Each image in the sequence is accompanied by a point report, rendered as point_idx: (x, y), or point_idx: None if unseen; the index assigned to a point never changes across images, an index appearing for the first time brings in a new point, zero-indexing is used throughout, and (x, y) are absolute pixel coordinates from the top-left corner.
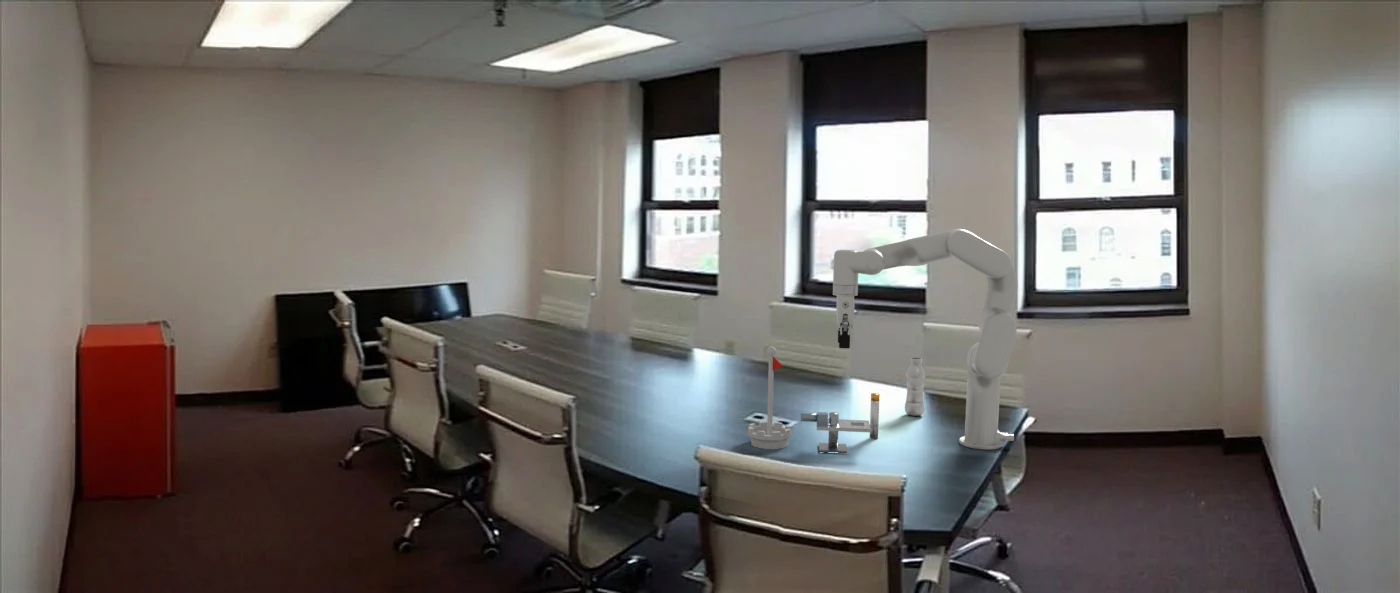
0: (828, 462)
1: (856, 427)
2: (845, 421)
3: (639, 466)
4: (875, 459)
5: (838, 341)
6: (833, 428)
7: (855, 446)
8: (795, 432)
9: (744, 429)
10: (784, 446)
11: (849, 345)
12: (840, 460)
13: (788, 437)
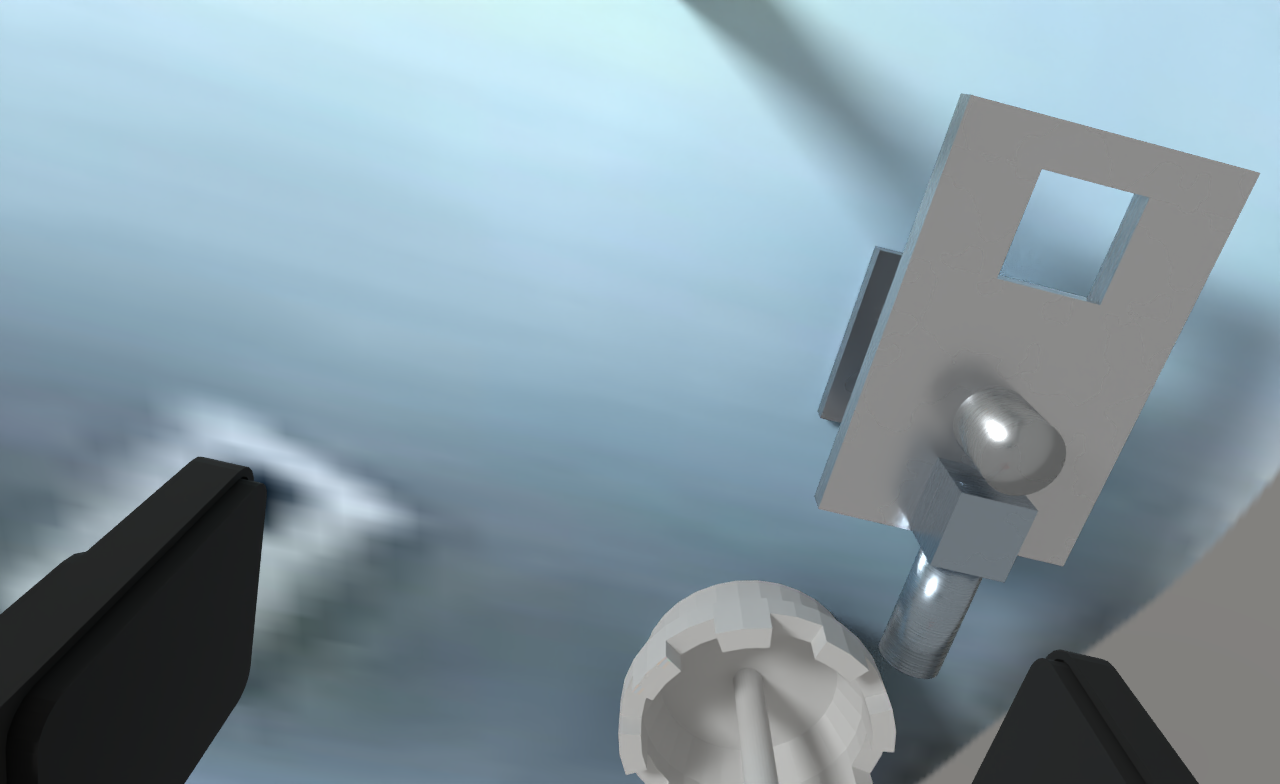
0: (1185, 449)
1: (1172, 281)
2: (959, 315)
3: None
4: (1221, 132)
5: (234, 704)
6: (1114, 455)
7: (884, 177)
8: (499, 480)
9: (428, 731)
10: (827, 612)
11: (1138, 707)
12: (1169, 370)
13: (846, 629)
